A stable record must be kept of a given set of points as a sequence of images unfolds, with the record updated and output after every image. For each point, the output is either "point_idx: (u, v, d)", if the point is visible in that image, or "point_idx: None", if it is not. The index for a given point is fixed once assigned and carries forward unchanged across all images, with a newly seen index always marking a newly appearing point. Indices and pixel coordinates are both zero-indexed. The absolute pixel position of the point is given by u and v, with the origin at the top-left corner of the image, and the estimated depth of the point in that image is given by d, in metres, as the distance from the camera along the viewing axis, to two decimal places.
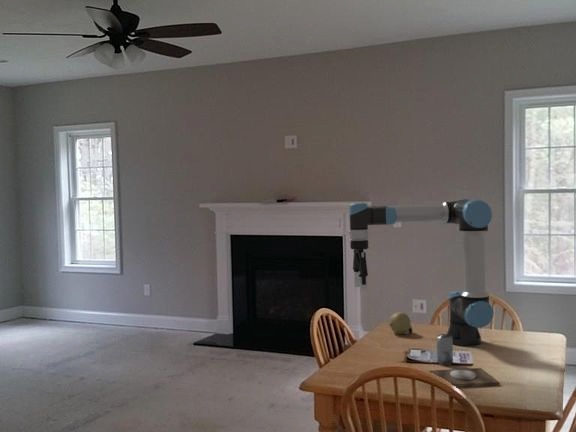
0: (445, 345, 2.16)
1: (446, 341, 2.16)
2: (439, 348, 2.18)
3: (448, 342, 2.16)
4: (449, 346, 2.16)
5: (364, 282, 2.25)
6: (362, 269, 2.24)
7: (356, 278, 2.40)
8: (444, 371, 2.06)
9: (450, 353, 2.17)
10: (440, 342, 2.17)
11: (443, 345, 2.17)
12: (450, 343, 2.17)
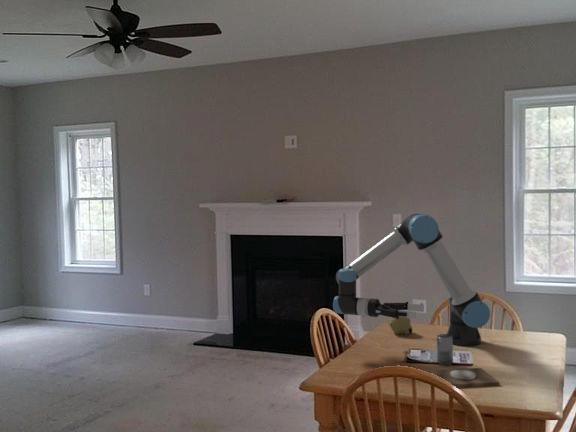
0: (445, 345, 2.16)
1: (446, 341, 2.16)
2: (439, 348, 2.18)
3: (448, 342, 2.16)
4: (449, 346, 2.16)
5: (403, 314, 2.18)
6: (389, 315, 2.19)
7: (414, 309, 2.31)
8: (444, 371, 2.06)
9: (450, 353, 2.17)
10: (440, 342, 2.17)
11: (443, 345, 2.17)
12: (450, 343, 2.17)
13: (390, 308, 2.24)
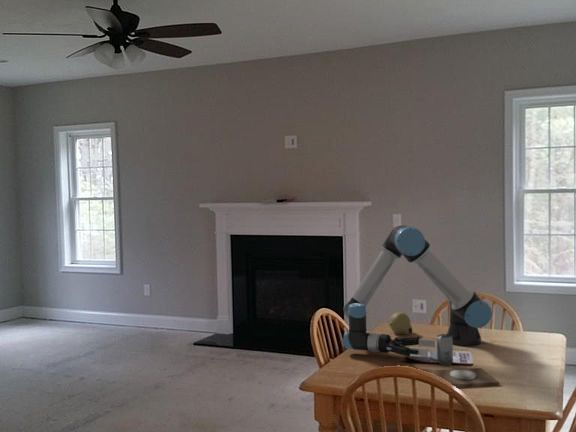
0: (445, 345, 2.16)
1: (446, 341, 2.16)
2: (439, 348, 2.18)
3: (448, 342, 2.16)
4: (449, 346, 2.16)
5: (415, 352, 2.16)
6: (400, 353, 2.18)
7: (425, 344, 2.29)
8: (444, 371, 2.06)
9: (450, 353, 2.17)
10: (440, 342, 2.17)
11: (443, 345, 2.17)
12: (450, 343, 2.17)
13: (401, 345, 2.22)
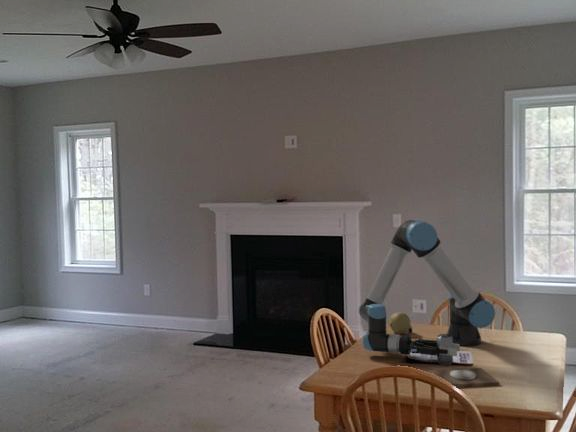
0: (445, 345, 2.16)
1: (446, 341, 2.16)
2: (439, 348, 2.18)
3: (448, 342, 2.16)
4: (449, 346, 2.16)
5: (444, 351, 2.15)
6: (429, 353, 2.16)
7: None
8: (444, 371, 2.06)
9: None
10: (440, 342, 2.17)
11: (443, 345, 2.17)
12: (450, 343, 2.17)
13: (426, 345, 2.20)
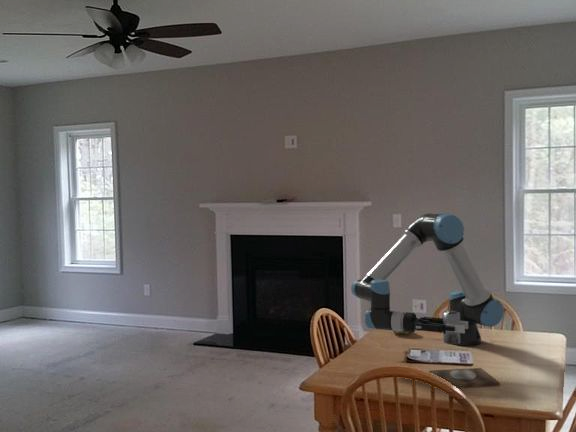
0: (452, 322, 2.02)
1: (453, 318, 2.02)
2: None
3: (455, 319, 2.02)
4: (456, 323, 2.02)
5: (451, 328, 2.01)
6: (435, 330, 2.02)
7: None
8: (444, 371, 2.06)
9: None
10: (447, 319, 2.03)
11: (450, 322, 2.03)
12: (457, 320, 2.03)
13: (432, 322, 2.06)
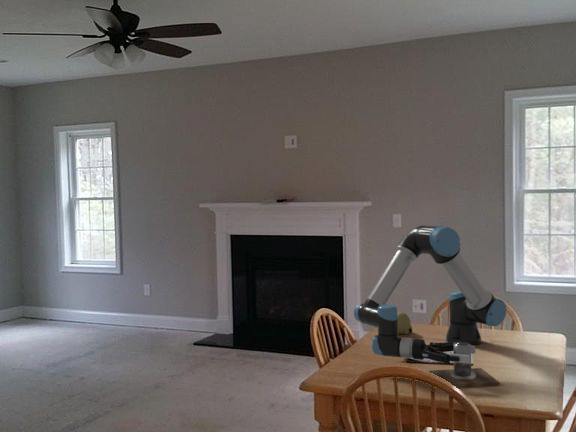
0: (463, 354, 1.97)
1: (464, 350, 1.97)
2: None
3: (466, 351, 1.97)
4: None
5: (456, 359, 1.93)
6: (439, 360, 1.95)
7: None
8: (444, 371, 2.06)
9: None
10: (457, 351, 1.98)
11: (461, 354, 1.98)
12: (468, 351, 1.98)
13: (439, 351, 2.00)
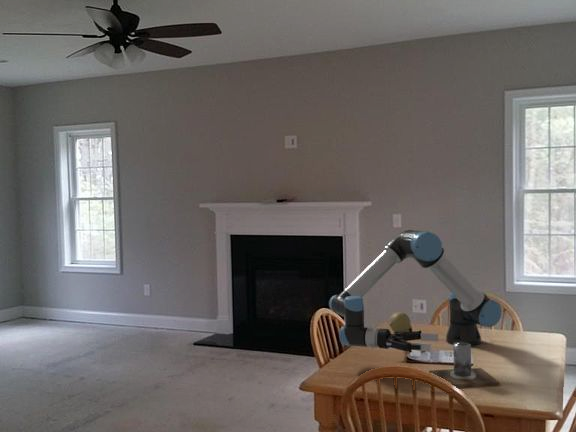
0: (463, 354, 1.97)
1: (464, 350, 1.97)
2: (456, 357, 1.99)
3: (466, 351, 1.97)
4: (467, 355, 1.97)
5: (417, 347, 1.99)
6: (401, 349, 2.01)
7: (427, 339, 2.12)
8: (444, 371, 2.06)
9: (468, 362, 1.98)
10: (457, 351, 1.98)
11: (461, 354, 1.98)
12: (468, 351, 1.98)
13: (402, 340, 2.05)
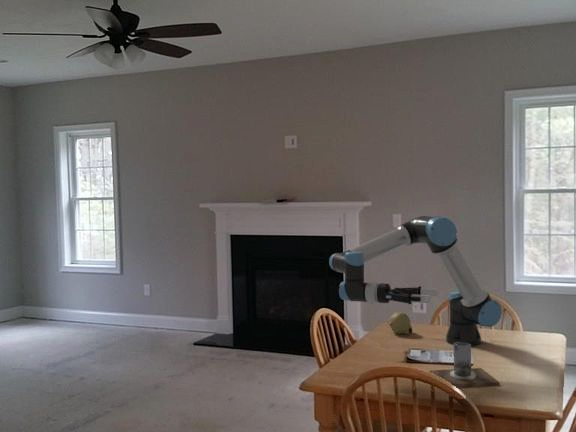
0: (463, 354, 1.97)
1: (464, 350, 1.97)
2: (456, 357, 1.99)
3: (466, 351, 1.97)
4: (467, 355, 1.97)
5: (417, 298, 1.98)
6: (401, 300, 2.00)
7: (427, 294, 2.11)
8: (444, 371, 2.06)
9: (468, 362, 1.98)
10: (458, 351, 1.98)
11: (461, 354, 1.98)
12: (468, 351, 1.98)
13: (402, 293, 2.05)
